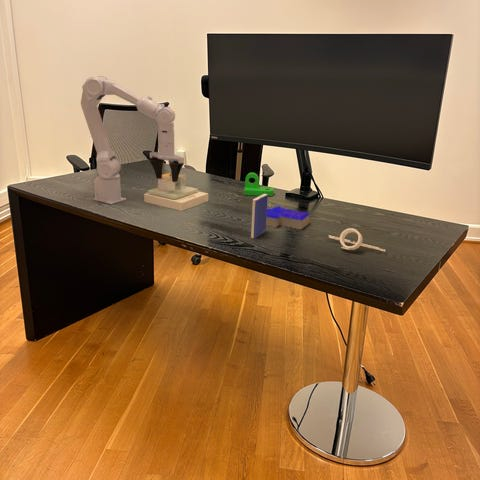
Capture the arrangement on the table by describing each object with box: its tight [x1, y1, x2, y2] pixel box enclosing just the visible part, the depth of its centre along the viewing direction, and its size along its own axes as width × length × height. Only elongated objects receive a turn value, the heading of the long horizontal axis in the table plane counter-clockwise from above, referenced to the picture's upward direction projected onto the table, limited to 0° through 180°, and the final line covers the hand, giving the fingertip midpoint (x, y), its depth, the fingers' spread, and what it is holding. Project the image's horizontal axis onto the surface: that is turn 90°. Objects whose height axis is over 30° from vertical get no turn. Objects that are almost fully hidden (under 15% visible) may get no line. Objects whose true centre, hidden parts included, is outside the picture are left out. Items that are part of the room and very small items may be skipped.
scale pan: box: [147, 185, 199, 199], centre depth 177 cm, size 13×14×1 cm
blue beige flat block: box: [266, 205, 311, 230], centre depth 158 cm, size 11×15×5 cm
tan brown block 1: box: [157, 177, 175, 194], centre depth 173 cm, size 4×4×5 cm
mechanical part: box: [243, 172, 275, 197], centre depth 192 cm, size 12×6×8 cm, turn 85°
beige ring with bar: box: [328, 227, 386, 253], centre depth 138 cm, size 18×10×7 cm
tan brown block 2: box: [170, 173, 187, 190], centre depth 178 cm, size 4×4×5 cm
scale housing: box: [143, 190, 209, 212], centre depth 177 cm, size 18×16×4 cm
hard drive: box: [250, 194, 269, 239], centre depth 145 cm, size 2×8×12 cm, turn 152°
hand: (166, 179), depth 173 cm, fingers open, 7 cm apart
